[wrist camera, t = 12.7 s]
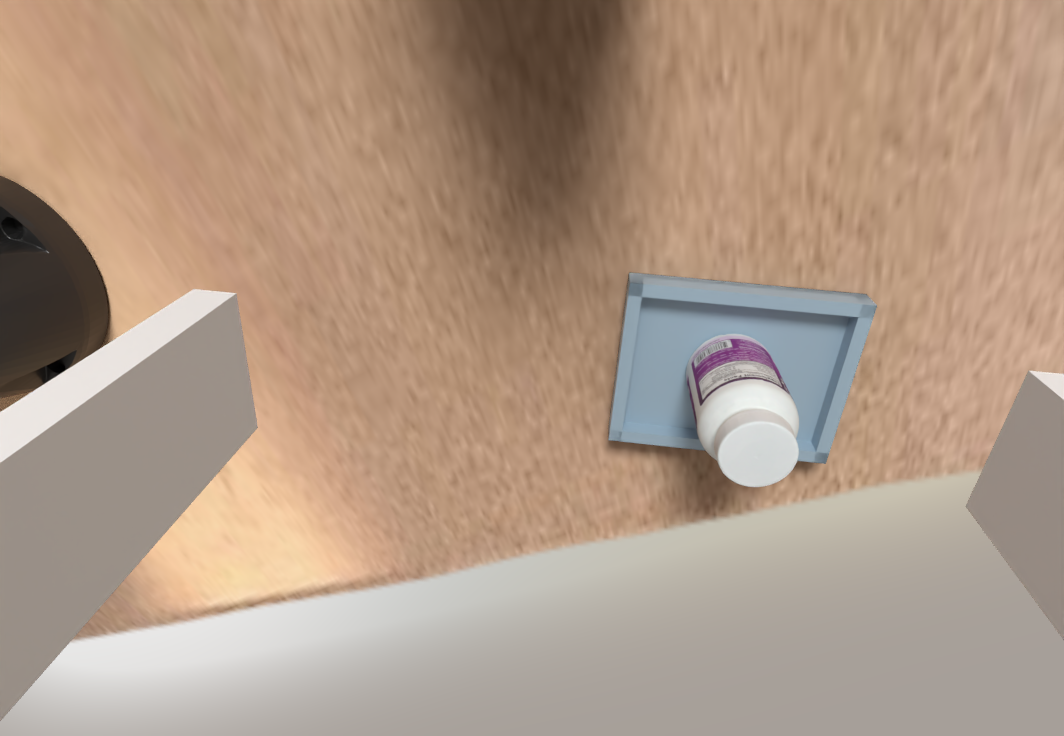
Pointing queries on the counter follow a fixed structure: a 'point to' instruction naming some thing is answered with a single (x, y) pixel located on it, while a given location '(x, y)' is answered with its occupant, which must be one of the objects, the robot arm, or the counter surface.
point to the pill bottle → (743, 410)
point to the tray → (734, 308)
